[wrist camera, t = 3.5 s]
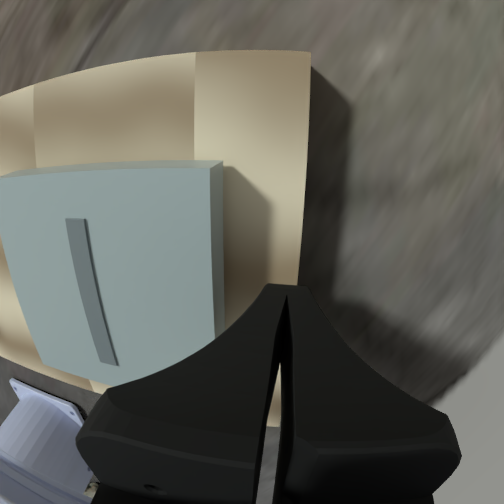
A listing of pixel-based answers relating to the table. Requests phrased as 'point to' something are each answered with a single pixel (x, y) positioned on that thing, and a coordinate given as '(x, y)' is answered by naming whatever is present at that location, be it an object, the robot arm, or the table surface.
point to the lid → (117, 262)
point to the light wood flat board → (178, 158)
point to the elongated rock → (91, 489)
